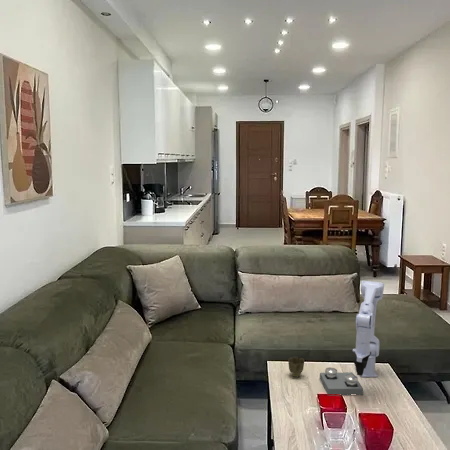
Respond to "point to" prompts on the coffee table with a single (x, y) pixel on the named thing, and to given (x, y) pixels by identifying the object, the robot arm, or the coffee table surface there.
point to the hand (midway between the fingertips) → (361, 371)
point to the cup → (296, 366)
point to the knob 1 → (331, 373)
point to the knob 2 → (351, 380)
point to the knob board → (340, 385)
